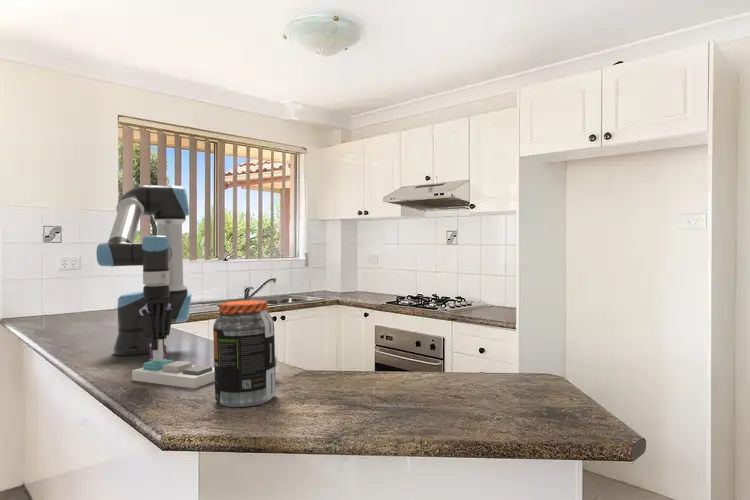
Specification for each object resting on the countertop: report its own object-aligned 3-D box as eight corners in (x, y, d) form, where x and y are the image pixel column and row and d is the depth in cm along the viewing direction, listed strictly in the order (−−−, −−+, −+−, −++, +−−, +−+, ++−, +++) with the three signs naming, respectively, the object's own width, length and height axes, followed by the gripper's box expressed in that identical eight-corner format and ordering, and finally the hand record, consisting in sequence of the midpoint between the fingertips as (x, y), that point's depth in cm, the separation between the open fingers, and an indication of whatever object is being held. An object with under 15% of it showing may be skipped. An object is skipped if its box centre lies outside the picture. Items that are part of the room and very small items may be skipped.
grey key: (177, 370, 162) (177, 360, 162) (192, 371, 159) (192, 362, 159) (162, 374, 156) (162, 365, 156) (177, 376, 154) (177, 366, 154)
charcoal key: (197, 374, 158) (197, 365, 158) (212, 376, 156) (212, 366, 156) (182, 379, 153) (182, 369, 153) (198, 381, 150) (197, 371, 150)
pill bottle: (155, 366, 175) (154, 338, 175) (147, 364, 178) (146, 336, 178) (169, 363, 179) (169, 336, 179) (161, 361, 182) (160, 334, 182)
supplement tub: (288, 395, 139) (286, 300, 138) (246, 412, 125) (243, 307, 125) (245, 388, 147) (243, 297, 146) (201, 403, 133) (199, 304, 133)
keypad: (162, 371, 168) (162, 362, 168) (223, 378, 158) (222, 368, 158) (132, 380, 157) (131, 370, 157) (194, 388, 147) (194, 378, 147)
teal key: (158, 368, 165) (158, 358, 165) (172, 369, 162) (172, 360, 162) (143, 372, 159) (143, 363, 159) (157, 374, 157) (157, 364, 157)
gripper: (148, 286, 153) (150, 365, 153) (181, 283, 165) (182, 356, 165) (130, 286, 156) (132, 363, 156) (163, 283, 168) (165, 354, 168)
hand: (158, 359), depth 161 cm, fingers closed
